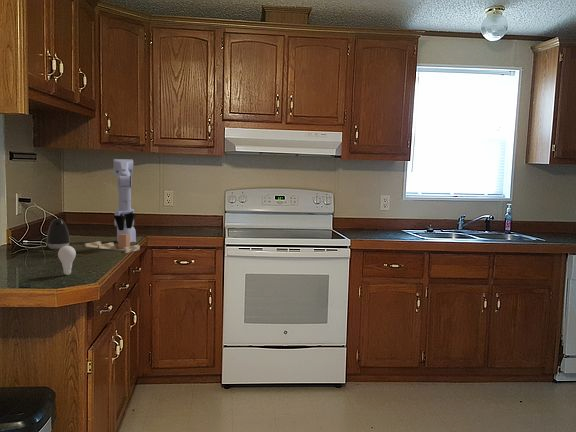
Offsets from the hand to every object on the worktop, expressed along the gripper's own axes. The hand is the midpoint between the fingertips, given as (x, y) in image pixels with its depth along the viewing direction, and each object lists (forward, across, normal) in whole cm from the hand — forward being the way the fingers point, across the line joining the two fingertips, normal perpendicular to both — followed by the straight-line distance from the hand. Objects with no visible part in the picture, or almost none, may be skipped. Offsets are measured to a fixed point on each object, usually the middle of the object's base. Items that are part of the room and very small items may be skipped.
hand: (125, 229), depth 242 cm
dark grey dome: (+11, +7, -31) cm, 34 cm away
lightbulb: (+10, +56, +7) cm, 57 cm away
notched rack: (+10, -2, -8) cm, 13 cm away
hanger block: (+9, 0, 0) cm, 9 cm away
